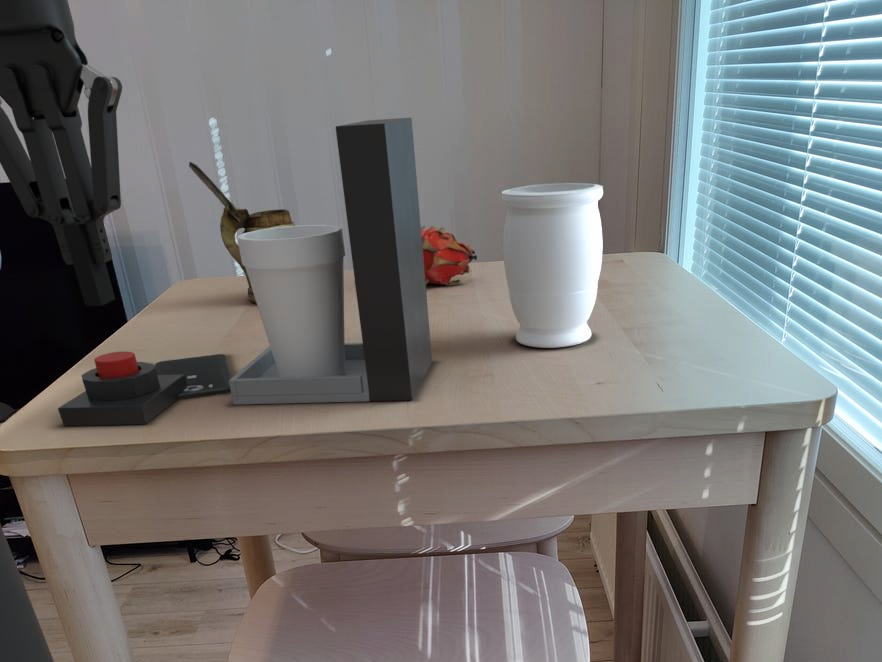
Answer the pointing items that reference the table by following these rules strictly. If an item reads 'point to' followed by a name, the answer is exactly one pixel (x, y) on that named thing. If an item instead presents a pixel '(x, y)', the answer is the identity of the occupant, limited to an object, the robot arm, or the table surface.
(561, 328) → the jar
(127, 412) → the panel
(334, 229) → the foam cup
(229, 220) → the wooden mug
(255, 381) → the coffee maker
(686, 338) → the table surface
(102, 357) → the button
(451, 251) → the dragon fruit
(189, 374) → the smartphone
